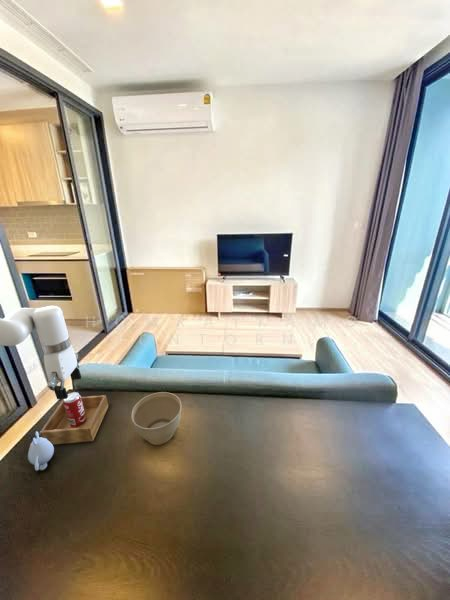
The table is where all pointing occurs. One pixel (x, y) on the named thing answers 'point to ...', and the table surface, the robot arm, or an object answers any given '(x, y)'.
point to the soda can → (75, 410)
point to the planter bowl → (157, 417)
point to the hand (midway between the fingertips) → (70, 388)
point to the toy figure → (40, 452)
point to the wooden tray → (62, 432)
